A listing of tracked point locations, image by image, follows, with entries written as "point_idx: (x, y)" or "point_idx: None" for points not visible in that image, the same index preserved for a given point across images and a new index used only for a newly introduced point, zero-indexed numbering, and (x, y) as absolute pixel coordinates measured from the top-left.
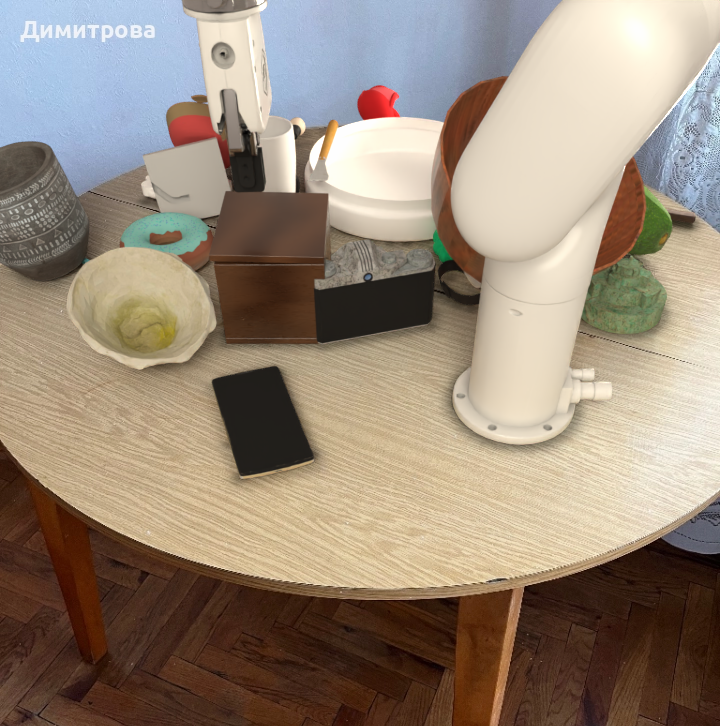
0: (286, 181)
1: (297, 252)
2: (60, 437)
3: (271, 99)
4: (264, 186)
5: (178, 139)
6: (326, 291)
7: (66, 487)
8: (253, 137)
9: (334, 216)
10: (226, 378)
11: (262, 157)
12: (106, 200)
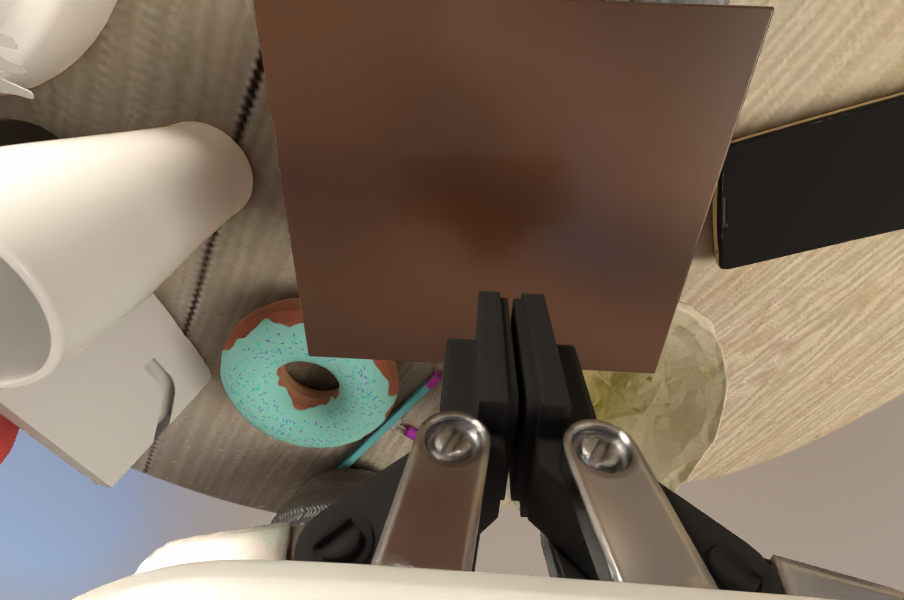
0: (126, 172)
1: (711, 122)
2: (745, 432)
3: (190, 596)
4: (545, 300)
5: (9, 443)
6: None
7: (849, 415)
8: (695, 552)
9: (89, 1)
10: (732, 245)
11: (504, 369)
12: (160, 456)
